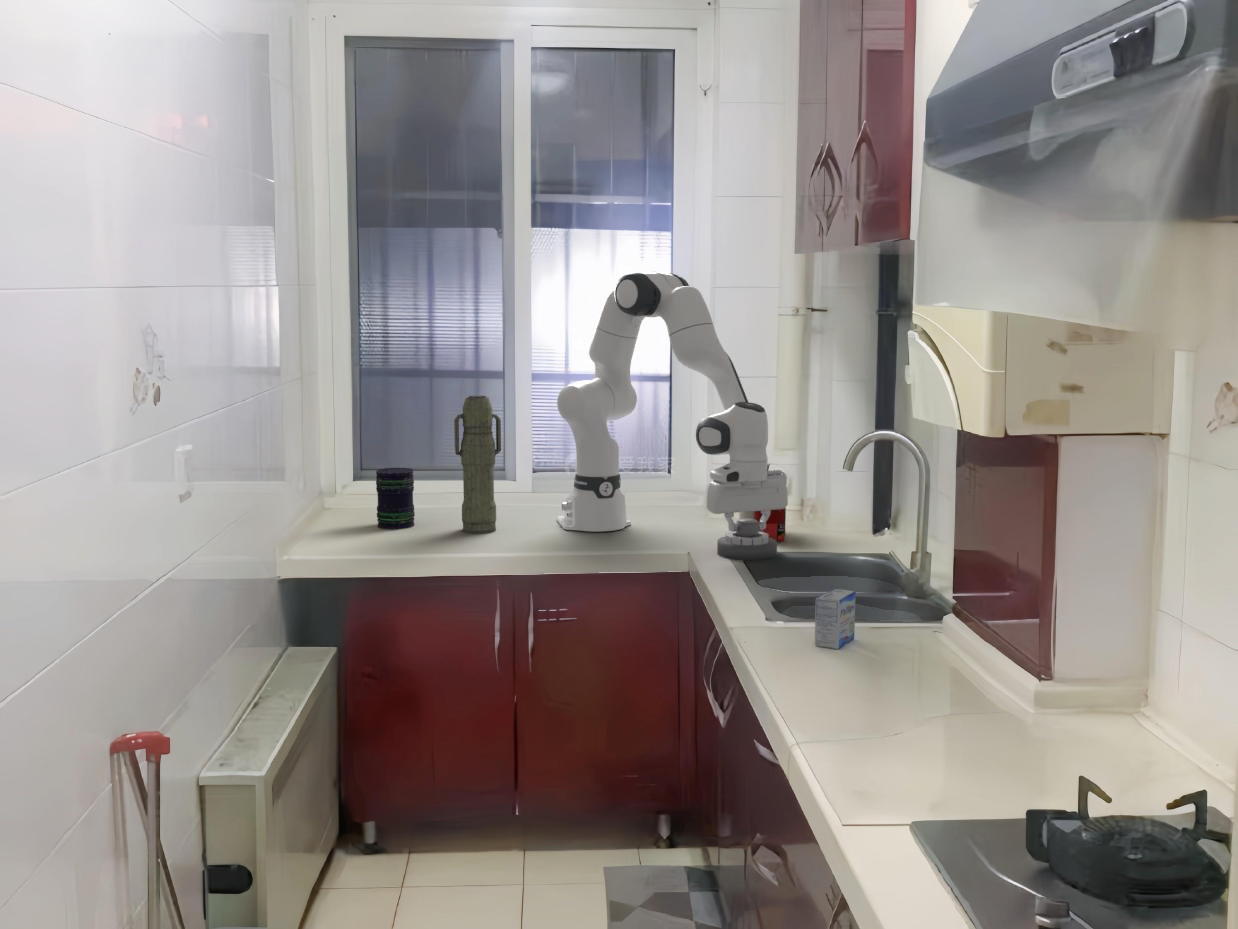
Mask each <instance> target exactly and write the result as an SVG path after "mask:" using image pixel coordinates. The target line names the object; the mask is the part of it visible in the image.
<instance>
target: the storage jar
mask: <svg viewBox="0 0 1238 929" xmlns="http://www.w3.org/2000/svg"><path fill="white" fill-rule="evenodd" d="M375 474H376V476H375V477H376V478H375V479H376V480H375V485H376V492H377V506H376V518H377V528H379V529H383V530H404V529H405V530H406V529H411V528H413V527H415V505H414V491H415V490H414V489H415V487H414V483H415V480H414V469H413V468H409V467H386V468H381V469H380V468H379V469H376V470H375Z"/></svg>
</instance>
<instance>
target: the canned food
mask: <svg viewBox="0 0 1238 929" xmlns="http://www.w3.org/2000/svg"><path fill="white" fill-rule="evenodd" d="M786 511H787V507H786V508H785V509H776V510H771V511H770V516H769V518H768V520H767V521H766V528H765V529H758V532H764V533H767V534H769V538H772V539H775V540H776V541H777V543H782V542H784V541H785V539H786V520H787V519H786V516H787V515H786V514H787V512H786ZM762 515H763V514H762V513H761V511H754V519H755V520H757V521H760V519H761V517H762Z"/></svg>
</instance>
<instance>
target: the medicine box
mask: <svg viewBox="0 0 1238 929" xmlns="http://www.w3.org/2000/svg"><path fill="white" fill-rule="evenodd" d="M814 607H815V609H814V610H815V611H814V612H815V614H814V618H815V621H814V645H815V646H816V647H819V648H820V647H821V648H826V649H833V650H837V651H838V650H839V651H840V649H842V648H843V647H844V646H845V645H847V644H848V643H850V642H851V641H852V640H854V639H855V632H856V631H855V629H856V628H855V627H856V625H855V624H856V623H855V622H856V619H855V618H856V591H854V590H848V589H847V590H846V589H839V588H833V589H830V590H828V591H827V592H825V593H823V594H821V595H820V596H818V597H816V598H815V606H814Z"/></svg>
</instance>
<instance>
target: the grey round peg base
mask: <svg viewBox="0 0 1238 929" xmlns="http://www.w3.org/2000/svg"><path fill="white" fill-rule="evenodd" d="M716 543H717V548H716V549H717V550H716V551H717V552H716V553H717V555H719V556H720V557H723V556H724V558H726V557H727V559H731V558H732V559H733V558H734V559H733V560H740V559H742V560H741V561H743V560H745V561H758V560H768V559H772V558H775V557H777V555H776V554H778V542H777V541H776V540H775V539H772V538H769V534H767V533H764V532H758V537H754V538H743V537H736V531H732V532H731V531H728V532H726V533H725V536H721V537H720V538H718V539H717V542H716Z"/></svg>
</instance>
